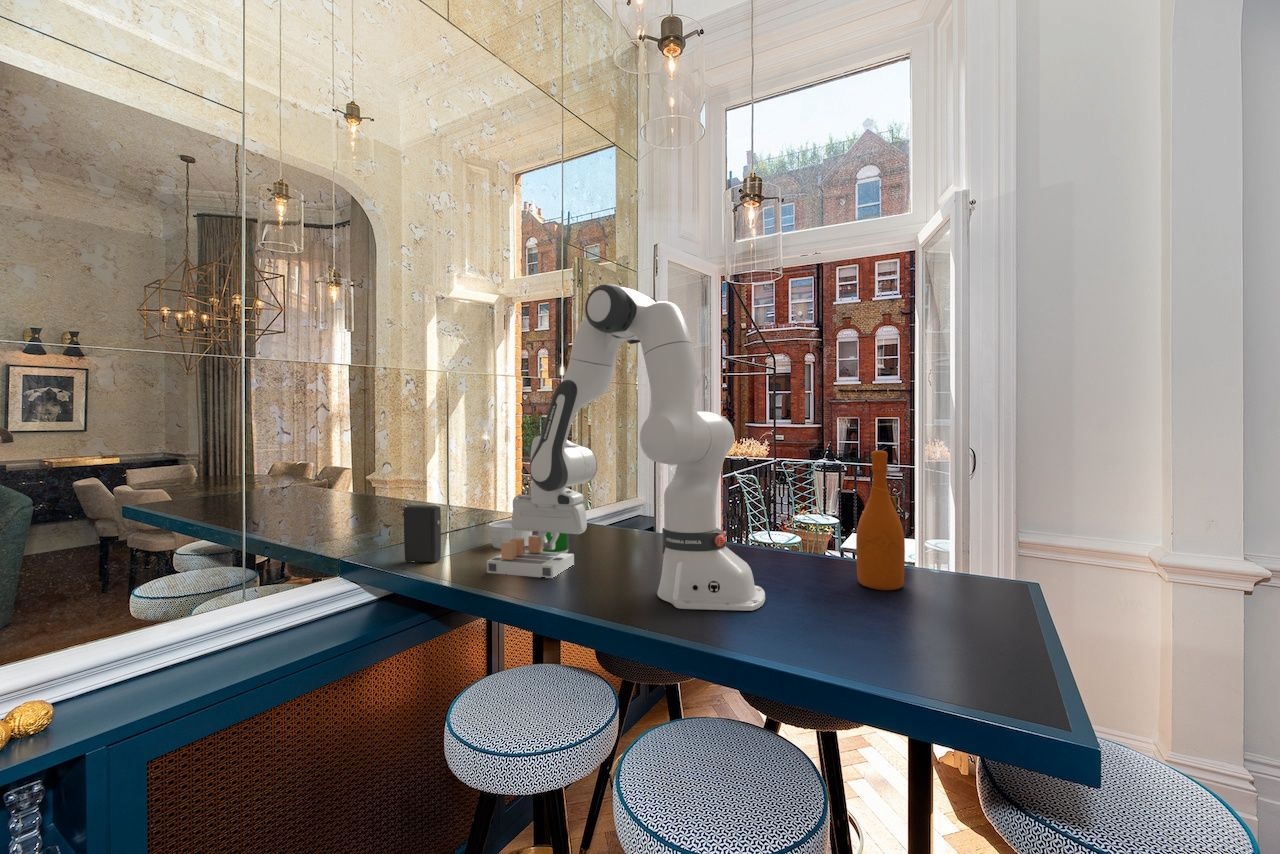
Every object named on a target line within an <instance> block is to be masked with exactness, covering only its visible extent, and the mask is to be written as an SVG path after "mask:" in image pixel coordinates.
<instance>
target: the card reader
mask: <svg viewBox="0 0 1280 854" xmlns="http://www.w3.org/2000/svg"><path fill="white" fill-rule="evenodd" d="M441 520H442V516H441V507H440V506H438V505H429V504H428V505H422V504H420V505H418V504H417V505H416V504H413V505H407V506H405V507H404V508H403V546H404V547H403V548H404V560H405V562H408V561H415V562H414V563H417V562H434V563H437V562H439V561H440V560H441V555H442V549H441V548H442V525H441V522H442V521H441Z"/></svg>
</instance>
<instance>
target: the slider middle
mask: <svg viewBox="0 0 1280 854" xmlns="http://www.w3.org/2000/svg"><path fill="white" fill-rule="evenodd" d="M510 541H511V542H516V556H522V555H524V554H525V551H526V550H525V548H526V547H524V538H512V539H510Z"/></svg>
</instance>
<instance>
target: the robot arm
mask: <svg viewBox="0 0 1280 854" xmlns="http://www.w3.org/2000/svg"><path fill="white" fill-rule="evenodd" d="M584 305H585V306H584V312H585V317H584V318H583V319H582V320H581V321H580V323H579V325H578V328H577V330H576V332H575V336H574V339H573V342H572V347H571V350H570V356H569V362H568V366H567V369H566V372H565V374H564V376H563V379H562V380H561V382H560V383H559V384H558V386H556V388H555V391H554V393H553V396H552V398H551V400H550V405H549V408H548V411H547V414H546V418H545V422H544V425H543V428H542V432H541V434H539V435H536V436H535V437H534V438H533V439H532V443H531V448H530V462H529V474H530V478H531V481H530V494H517V495H515V497H514V498H513V499H512V512H511V513H512V514H511V520H512V523H511V525H512V528H513V529H514V530H520V531H532V532H537V536H539V538H540V540H541V542H542V548H543V549H549V550H553V549H555V542H556V540H557V539H558V537H559V533H568V535H569V534H570V535H572V534H573V535H581V534H582V533H585V532H586V530H587V528H588V527H587V525H588V519H587V510H586V507H585V505H584V504H583V503H582V502H583V501H584V495H583V494H582V493H580V492H578V491H575V490H573V489H570V488H568V487H573V486H576V485H582V484H586V483H588V482H590V481H592V480H593V479H594V478H595V476H596V473H597V470H598V462H597V461H598V460H597V456H596V455H595V453H594V452H593V451H592V449H590V448H588V447H587V446H586V447H585V446H582V445H579V444H578V443H574V442H573V441H570V440H569V439H568V437H569V434H570V430H571V427H572V423H573V421H574V418H575V417H576V414H577V413H578V412H579V411H580V410H581V409H582V408H583V407H584V406H586V405H588V404H590V403H591V402H594V401H595V400H597V399H599V398H601V397H603V396H604V395H605V394H606V393H607V392H608V390H609V389H610V386H611V384H612V381H613V378H614V373H615V368H616V367H615V366H616V361H617V354H618V351H619V348H620V347H621V345H622V344H623V343H625V342H627V343H628V344H629V345H633V344H638V343H640V346H641V350H642V355H643V358H644V359H643V360H644V364H645V368H646V373H647V378H648V382H649V390H650V407H649V411H648V412H649V413H648V415H647V418H646V420H645V421H644V423H643V424H642V426H641V429H640V432H639V443H640V448H641V450H642V452H643V453H644V455H645V456H646V457H647V458H648V459H649V460H651V461H652V462H656V463H660V464H663V465H669V466H675V465H676V468H675V472H674V474H673V477H672V479H671V481H670V483H669V484H668V485H667V486H666V488H665V490H664V493H663V523H664V524H663V525H664V527H662V531H661V550H662V555H663V557H662V558H663V561H662V566H661V567H662V569H661V570H662V571H661V575H660V576H661V577H660V582H659V585H658V589H657V592H656V595H657V597H658V598H659V599H661V600H663V601H665V602H667V603H670V604H671V605H673V606H674V607H675V608H676V609H681V610H711V611H714V610H715V611H716V610H717V611H746V612H747V611H751V612H752V611H755V610H758V609H759V608H760V607H763V605H764V604H765V602H766V592H765V590H764V589H763V588H762V587H761V586H760V585H755V581H754V580H755V579H754V575H753V571H752V569H751V566H749V564H748V562H746V561H745V560H743V559H742V558H741V557H739V555H737V554H736V553H734V552H733V551H732V550H730V549H729V548H728V547H727V531H726V530H724V531H723V530H721V529H720V528H718V527H717V494H718V486H719V482H720V481H719V480H720V476H721V472H722V470H723V464H724V462H725V459H726V456H727V455H728V453H729V452H730V450H731V449H732V447H733V445H734V443H735V432H734V431H735V430H734V427H733V426H732V423H731V422H730V421H729V420H728V419H727V418H726V417H724V416H722V415H720V414H717V413H715V412H711V411H701V410H700V411H697V408H696V403H695V402H696V401H695V400H696V391H697V388H698V387H699V385H700V383H701V380H702V375H701V371H700V368H699V364H698V360H697V355H696V350H695V347H694V343H693V340H692V336H691V334H690V330H689V328H688V325H687V323H686V320H685V318H684V315H683V313H682V311H681V310H680V308H679V307H678V305H676V304H675V303H672V302H670V301H658V300H656V299H655V298H653V297H650V296H647V295H645V294H643V293H641V292H639V291H637V290H635V289H631V288H629V287H624V286H623V287H622V286H619V285H617V284H610V283H609V284H608V283H607V284H601V285H597V286H595V287H594V288H593V289H592V290H591V291H590V293H589V294H588V296H587V297H586V301H585V304H584ZM547 532H551V537H553V538H552V540H551V541H548V540H547V538H546V536H545V535H546V534H547Z"/></svg>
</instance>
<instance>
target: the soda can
mask: <svg viewBox="0 0 1280 854" xmlns="http://www.w3.org/2000/svg"><path fill="white" fill-rule="evenodd" d="M545 536H546V538H547V540H548V541H551V540H552V538H553V537H551V532H547V534H546V535H545ZM542 552H553V553H568V552H569V534H568V533H559V537H558V539H557V540H556V542H555V549H553V550H549V549H543V551H542Z"/></svg>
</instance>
